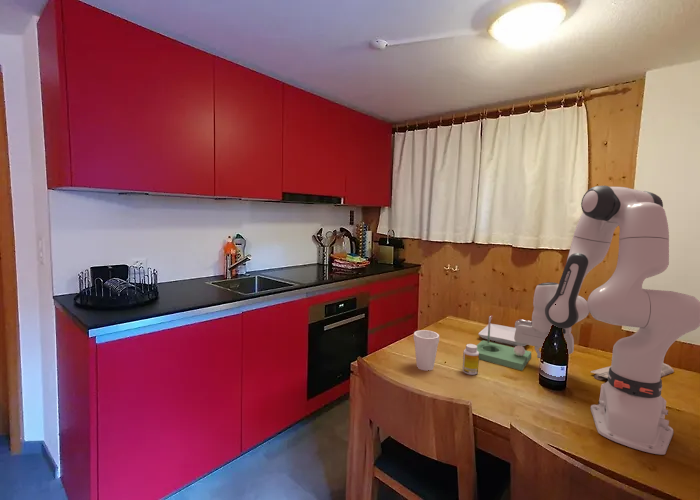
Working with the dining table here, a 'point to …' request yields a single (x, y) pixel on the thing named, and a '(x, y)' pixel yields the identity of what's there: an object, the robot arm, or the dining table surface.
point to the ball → (519, 350)
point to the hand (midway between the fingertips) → (541, 358)
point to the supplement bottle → (470, 359)
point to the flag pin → (489, 328)
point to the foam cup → (426, 348)
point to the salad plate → (500, 334)
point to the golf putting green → (502, 355)
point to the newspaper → (603, 372)
